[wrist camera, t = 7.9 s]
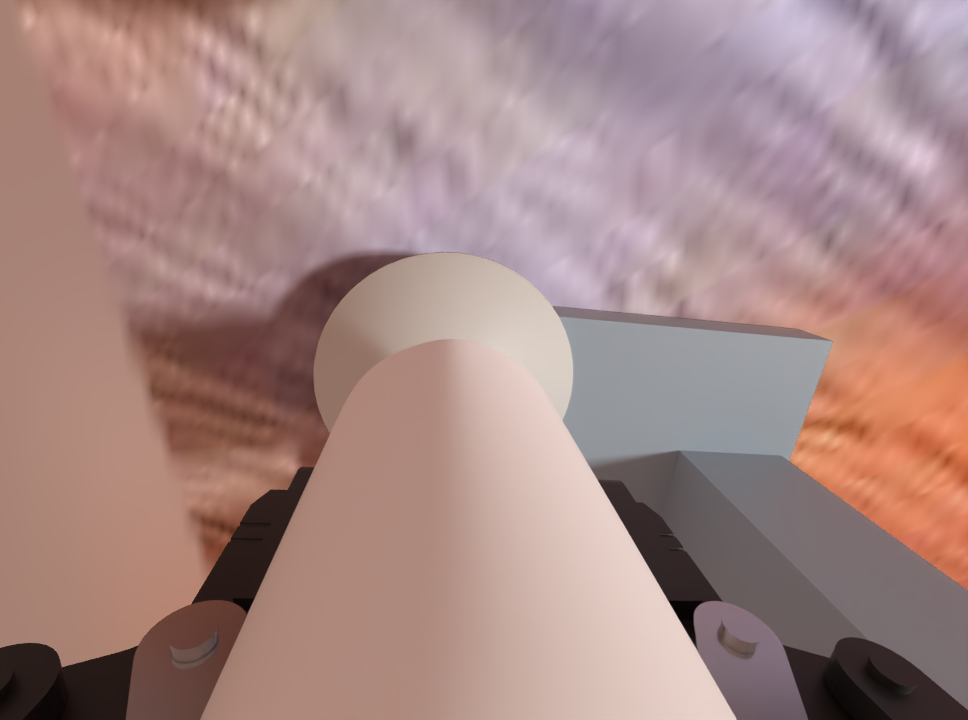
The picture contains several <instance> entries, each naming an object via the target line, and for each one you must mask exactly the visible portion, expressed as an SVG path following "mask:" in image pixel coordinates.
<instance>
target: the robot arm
mask: <svg viewBox="0 0 968 720" xmlns="http://www.w3.org/2000/svg"><path fill="white" fill-rule="evenodd" d="M313 470H314V467H300V468H299V469H298V471H297V473H296V475H295V477H294V479H293V481H292V483H291V485H290V487H289V489H288V490H270V491H268V492H267V493H266V494H264V495H263V496H262V497H261V498H259V499H258V500H257V501H255V502H254V503H253V504H251V506H250V508H249V509H248V511H247V513H246V514H245V516H244V517H243V519H242V521H241V522H240V526H238V527H237V529H236V531H235V532H234V534H233V536H232V537H231V541H230V542H228V544H227V546H226V547H225V549H224V551H223V552H222V554H221V556H220V557H219V559H218V561H217V562H216V564H215V566H214V567H213V569H212V571H211V572H210V574H209V576H208V577H207V579H206V580H205V582H204V584H203V585H202V587H201V589H200V590H199V592H198V594H197V596H196V597H195V599H194V600H193V602H192V604H191V605H188V606H186V607H184V608H181V609H179V610H177V611H175V612H173V613H171V614H170V615H168V616H166V617H165V618H164V619H162V620H161V621H160V622H158V623H157V624H156V625H155V626H154V627H153V628H152V629H151V630H150V631H149V632H148V633H147V634H146V635H145V636H144V638H143V639H142V641H141V642H140V644H139V645H138V646H136V647H133V648H131V649H128V650H125V651H122V652H118V653H115V654H111V655H107V656H103V657H100V658H96V659H92V660H88V661H85V662H81V663H76V664H73V665H69V666H66V667H62V666H61V662H60V659H59V656H58V654H57V652H56V651H55V650H54V649H53V648H51V647H49V646H47V645H43V644H38V643H23V644H16V645H11V646H6V647H2V648H0V720H200V719H201V717H202V715H203V712H204V710H205V708H206V706H207V703H208V701H209V699H210V697H211V694H212V692H213V690H214V688H215V686H216V683H217V681H218V679H219V677H220V675H221V672H222V670H223V668H224V666H225V663H226V661H227V659H228V657H229V655H230V652H231V650H232V648H233V646H234V644H235V641H236V639H237V637H238V635H239V633H240V630H241V628H242V626H243V624H244V621H245V619H246V617H247V614H248V612H249V610H250V607H251V605H252V603H253V601H254V599H255V597H256V594H257V592H258V590H259V588H260V586H261V583H262V581H263V579H264V577H265V575H266V572H267V570H268V568H269V566H270V564H271V561H272V559H273V557H274V555H275V553H276V551H277V548H278V546H279V544H280V542H281V540H282V537H283V535H284V533H285V531H286V529H287V526H288V524H289V522H290V520H291V518H292V515H293V513H294V511H295V509H296V507H297V505H298V502H299V500H300V498H301V496H302V494H303V492H304V489H305V487H306V485H307V483H308V481H309V478H310V476H311V474H312V472H313ZM597 480H598V482H599V483H600V485H601V487H602V489H603V490H604V492H605V494H606V495H607V497H608V499H609V501H610V502H611V504H612V506H613V507H614V509H615V511H616V512H617V514H618V516H619V518H620V519H621V521H622V523H623V524H624V526H625V528H626V530H627V531H628V533H629V535H630V536H631V538H632V540H633V541H634V543H635V545H636V547H637V548H638V550H639V552H640V553H641V555H642V557H643V559H644V560H645V562H646V564H647V565H648V567H649V569H650V571H651V572H652V574H653V576H654V577H655V579H656V581H657V583H658V584H659V586H660V588H661V589H662V591H663V593H664V595H665V596H666V598H667V600H668V601H669V603H670V605H671V607H672V608H673V610H674V612H675V613H676V615H677V617H678V619H679V620H680V622H681V624H682V625H683V627H684V629H685V631H686V632H687V634H688V636H689V637H690V639H691V641H692V643H693V644H694V646H695V648H696V649H697V651H698V653H699V655H700V656H701V658H702V660H703V662H704V663H705V665H706V667H707V669H708V670H709V672H710V674H711V676H712V677H713V679H714V681H715V682H716V684H717V686H718V688H719V689H720V691H721V693H722V695H723V696H724V698H725V700H726V702H727V703H728V705H729V707H730V709H731V710H732V712H733V714H734V715H735V717H736V719H737V720H968V710H967V709H966V708H965V707H964V706H962V705H961V704H960V703H959V702H958V701H957V700H955V699H954V698H953V697H952V696H951V695H949V694H948V693H947V692H946V691H945V690H943V689H942V688H941V687H940V686H939V685H937V684H936V683H935V682H934V681H933V680H931V679H930V678H929V677H928V676H927V675H926V674H924V673H923V672H922V671H921V670H920V669H918V668H917V667H916V666H915V665H913V664H912V663H911V662H909V661H908V660H906V659H905V658H903V657H902V656H900V655H899V654H897V653H895V652H894V651H892V650H890V649H888V648H886V647H884V646H882V645H880V644H877V643H875V642H872V641H869V640H866V639H862V638H855V637H847V638H843V639H840V640H839V641H838V642H837V644H836V646H835V648H834V650H833V652H832V654H831V656H830V658H828V657H825V656H821V655H818V654H814V653H810V652H807V651H803V650H799V649H796V648H792V647H789V646H785V645H782V643H781V642H780V640H779V638H778V637H777V636H776V635H775V633H774V632H773V631H772V630H771V629H770V628H769V627H768V626H767V625H766V624H765V623H764V622H763V621H761V620H760V619H759V618H757V617H756V616H754V615H753V614H751V613H750V612H748V611H746V610H744V609H742V608H740V607H738V606H735V605H733V604H730V603H726V602H723V601H722V600H721V598H720V597H719V596H718V594H717V593H716V591H715V590H714V589H713V587H712V586H711V584H710V583H709V582H708V580H707V579H706V578H705V576H704V575H703V573H702V572H701V571H700V569H699V568H698V567H697V565H696V564H695V562H694V561H693V560H692V558H691V557H690V556H689V554H688V553H687V551H684V547H683V546H682V545H681V543H680V542H679V540H678V539H677V538H676V537H674V535H673V534H674V533H673V532H672V531H671V529H670V528H669V527H668V525H667V524H666V522H665V521H664V520H663V518H662V517H661V516H660V515H658V514H657V513H656V512H655V511H653V510H652V509H651V508H649V507H648V506H647V505H646V504H644V503H643V502H636V501H635V500H634V498H633V497H632V495H631V494H630V492H629V491H628V489H627V488H626V486H625V485H624V483H623V482H622V481H620V480H603V479H597Z"/></svg>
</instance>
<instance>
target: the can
mask: <svg viewBox="0 0 968 720" xmlns="http://www.w3.org/2000/svg"><path fill="white" fill-rule="evenodd" d="M200 720H737V719H736V717H735V715H734V714H733V712H732V710H731V709H730V707H729V705H728V703H727V702H726V700H725V698H724V696H723V695H722V693H721V691H720V689H719V688H718V686H717V684H716V682H715V681H714V679H713V677H712V676H711V674H710V672H709V670H708V669H707V667H706V665H705V663H704V662H703V660H702V658H701V656H700V655H699V653H698V651H697V649H696V648H695V646H694V644H693V643H692V641H691V639H690V637H689V636H688V634H687V632H686V631H685V629H684V627H683V625H682V624H681V622H680V620H679V619H678V617H677V615H676V613H675V612H674V610H673V608H672V607H671V605H670V603H669V601H668V600H667V598H666V596H665V595H664V593H663V591H662V589H661V588H660V586H659V584H658V583H657V581H656V579H655V577H654V576H653V574H652V572H651V571H650V569H649V567H648V565H647V564H646V562H645V560H644V559H643V557H642V555H641V553H640V552H639V550H638V548H637V547H636V545H635V543H634V541H633V540H632V538H631V536H630V535H629V533H628V531H627V530H626V528H625V526H624V524H623V523H622V521H621V519H620V518H619V516H618V514H617V512H616V511H615V509H614V507H613V506H612V504H611V502H610V501H609V499H608V497H607V495H606V494H605V492H604V490H603V489H602V487H601V485H600V483H599V482H598V480H597V478H596V477H595V475H594V473H593V472H592V470H591V468H590V467H589V465H588V463H587V461H586V460H585V458H584V456H583V455H582V453H581V451H580V450H579V448H578V446H577V445H576V443H575V441H574V439H573V438H572V436H571V434H570V433H569V431H568V429H567V428H566V426H565V424H564V423H563V421H562V419H561V418H560V416H559V414H558V413H557V411H556V409H555V408H554V406H553V404H552V403H551V401H550V400H549V398H548V396H547V395H546V393H545V392H544V390H543V389H542V387H541V386H540V384H539V383H538V382H537V380H536V379H535V378H534V377H533V376H532V374H531V373H530V372H529V371H528V370H527V369H526V368H524V367H523V366H522V365H521V364H520V363H518V362H517V361H516V360H514V359H513V358H511V357H510V356H508V355H506V354H505V353H503V352H501V351H499V350H496V349H494V348H491V347H489V346H486V345H483V344H479V343H475V342H471V341H466V340H459V339H443V340H435V341H429V342H425V343H421V344H418V345H415V346H412V347H409V348H406V349H404V350H401V351H399V352H397V353H395V354H393V355H391V356H389V357H387V358H385V359H384V360H382V361H381V362H379V363H378V364H376V365H375V366H374V367H373V368H371V369H370V370H369V371H368V372H367V373H366V374H365V375H364V376H363V377H362V378H361V380H360V381H359V382H358V383H357V385H356V386H355V387H354V389H353V390H352V392H351V393H350V395H349V397H348V398H347V400H346V402H345V404H344V406H343V408H342V410H341V412H340V414H339V416H338V418H337V420H336V422H335V424H334V427H333V429H332V431H331V433H330V435H329V437H328V439H327V442H326V444H325V446H324V448H323V450H322V452H321V455H320V457H319V459H318V461H317V463H316V465H315V468H314V470H313V472H312V474H311V476H310V478H309V481H308V483H307V485H306V487H305V489H304V492H303V494H302V496H301V498H300V500H299V502H298V505H297V507H296V509H295V511H294V513H293V515H292V518H291V520H290V522H289V524H288V526H287V529H286V531H285V533H284V535H283V537H282V540H281V542H280V544H279V546H278V548H277V551H276V553H275V555H274V557H273V559H272V561H271V564H270V566H269V568H268V570H267V572H266V575H265V577H264V579H263V581H262V583H261V586H260V588H259V590H258V592H257V594H256V597H255V599H254V601H253V603H252V605H251V607H250V610H249V612H248V614H247V617H246V619H245V621H244V624H243V626H242V628H241V630H240V633H239V635H238V637H237V639H236V641H235V644H234V646H233V648H232V650H231V652H230V655H229V657H228V659H227V661H226V663H225V666H224V668H223V670H222V672H221V675H220V677H219V679H218V681H217V683H216V686H215V688H214V690H213V692H212V694H211V697H210V699H209V701H208V703H207V706H206V708H205V710H204V712H203V715H202V717H201V719H200Z"/></svg>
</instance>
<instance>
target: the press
mask: <svg viewBox="0 0 968 720" xmlns="http://www.w3.org/2000/svg"><path fill="white" fill-rule="evenodd" d="M443 339H459V340H466V341H471V342H475V343H479V344H483V345H486V346H489V347H491V348H494V349H496V350H499V351H501V352H503V353H505V354H506V355H508V356H510V357H511V358H513V359H514V360H516V361H517V362H518V363H520V364H521V365H522V366H523V367H524V368H526V369H527V370H528V371H529V372H530V373H531V374H532V376H533V377H534V378H535V379H536V380H537V382H538V383H539V384H540V386H541V387H542V389H543V390H544V392H545V393H546V395H547V396H548V398H549V400H550V401H551V403H552V404H553V406H554V408H555V409H556V411H557V413H558V414H559V416H560V418H561V419H562V421H563V423H564V424H565V426H566V428H567V429H568V431H569V433H570V434H571V436H572V438H573V439H574V441H575V443H576V445H577V446H578V448H579V450H580V451H581V453H582V455H583V456H584V458H585V460H586V461H587V463H588V465H589V467H590V468H591V470H592V472H593V473H594V475H595V477H596V478H597V479H603V480H620V481H622V482H623V483H624V485H625V486H626V488H627V489H628V491H629V492H630V494H631V495H632V497H633V498H634V500H635V501H636V502H643V503H644V504H646V505H647V506H648V507H649V508H651V509H652V510H653V511H655V512H656V513H657V514H658V515H660V516H661V517H662V518H663V520H664V521H665V522H666V524H667V525H668V527H669V528H670V529H671V531H672V532H673V533H674V534H673V535H674V537H676V538H677V539H678V540H679V542H680V543H681V545H682V546H683V547H684V551H687V553H688V554H689V556H690V557H691V558H692V560H693V561H694V562H695V564H696V565H697V567H698V568H699V569H700V571H701V572H702V573H703V575H704V576H705V578H706V579H707V580H708V582H709V583H710V584H711V586H712V587H713V589H714V590H715V591H716V593H717V594H718V596H719V597H720V598H721V600H722V601H723V602H726V603H730V604H733V605H735V606H738V607H740V608H742V609H744V610H746V611H748V612H750V613H751V614H753V615H754V616H756V617H757V618H759V619H760V620H761V621H763V622H764V623H765V624H766V625H767V626H768V627H769V628H770V629H771V630H772V631H773V632H774V633H775V635H776V636H777V637H778V638H779V640H780V642H781V643H782V645H785V646H789V647H792V648H796V649H799V650H803V651H807V652H810V653H814V654H818V655H821V656H825V657H828V658H830V656H831V654H832V652H833V650H834V648H835V646H836V644H837V642H838V641H839V640H840V639H843V638H847V637H855V638H862V639H866V640H869V641H872V642H875V643H877V644H880V645H882V646H884V647H886V648H888V649H890V650H892V651H894V652H895V653H897V654H899V655H900V656H902V657H903V658H905V659H906V660H908V661H909V662H911V663H912V664H913V665H915V666H916V667H917V668H918V669H920V670H921V671H922V672H923V673H924V674H926V675H927V676H928V677H929V678H930V679H931V680H933V681H934V682H935V683H936V684H937V685H939V686H940V687H941V688H942V689H943V690H945V691H946V692H947V693H948V694H949V695H951V696H952V697H953V698H954V699H955V700H957V701H958V702H959V703H960V704H961V705H962V706H964V707H965V708H966V709H967V710H968V591H967V590H966V589H965V588H963V587H962V586H961V585H959V584H958V583H956V582H955V581H954V580H952V579H951V578H950V577H948V576H947V575H945V574H944V573H943V572H941V571H940V570H939V569H937V568H936V567H934V566H933V565H932V564H930V563H929V562H927V561H926V560H925V559H923V558H922V557H921V556H919V555H918V554H916V553H915V552H914V551H912V550H911V549H910V548H908V547H907V546H905V545H904V544H903V543H901V542H900V541H899V540H897V539H896V538H894V537H893V536H892V535H890V534H889V533H887V532H886V531H885V530H883V529H882V528H881V527H879V526H878V525H876V524H875V523H874V522H872V521H871V520H870V519H868V518H867V517H865V516H864V515H863V514H861V513H860V512H859V511H857V510H856V509H854V508H853V507H852V506H850V505H849V504H847V503H846V502H845V501H843V500H842V499H841V498H839V497H838V496H836V495H835V494H834V493H832V492H831V491H830V490H828V489H827V488H825V487H824V486H823V485H821V484H820V483H819V482H817V481H816V480H814V479H813V478H812V477H810V476H809V475H807V474H806V473H805V472H803V471H802V470H801V469H799V468H798V467H796V466H795V465H794V464H792V463H791V462H790V461H789V460H790V458H791V455H792V452H793V449H794V447H795V444H796V441H797V439H798V436H799V433H800V430H801V428H802V425H803V422H804V420H805V417H806V414H807V411H808V409H809V406H810V403H811V401H812V398H813V395H814V392H815V390H816V387H817V384H818V381H819V379H820V376H821V373H822V371H823V368H824V365H825V362H826V360H827V357H828V354H829V352H830V349H831V346H832V343H833V341H831V340H828V339H825V338H823V337H820V336H817V335H814V334H811V333H808V332H805V331H802V330H799V329H793V328H783V327H772V326H761V325H750V324H739V323H729V322H718V321H707V320H696V319H686V318H675V317H664V316H653V315H642V314H632V313H621V312H610V311H599V310H588V309H578V308H567V307H556V306H552V305H551V304H550V303H549V301H548V300H547V299H546V298H545V297H544V296H543V295H542V293H541V292H540V291H539V290H538V289H537V288H535V287H534V286H533V285H532V284H531V283H530V282H529V281H527V280H526V279H525V278H524V277H522V276H520V275H519V274H517V273H516V272H514V271H513V270H511V269H510V268H507V267H505V266H503V265H501V264H499V263H497V262H495V261H492V260H489V259H486V258H482V257H479V256H475V255H470V254H464V253H454V252H436V253H425V254H420V255H415V256H411V257H407V258H403V259H401V260H398V261H395V262H393V263H390V264H388V265H386V266H384V267H382V268H380V269H378V270H377V271H375V272H373V273H371V274H370V275H369V276H367V277H366V278H365V279H363V280H362V281H361V282H359V283H358V284H357V285H356V286H355V287H354V288H352V289H351V290H350V291H349V292H348V293H347V294H346V296H345V297H344V298H343V299H342V300H341V301H340V303H339V304H338V305H337V307H336V308H335V309H334V311H333V312H332V314H331V316H330V317H329V319H328V321H327V323H326V325H325V326H324V329H323V331H322V334H321V337H320V339H319V342H318V346H317V350H316V355H315V359H314V373H313V378H314V391H315V396H316V401H317V405H318V409H319V411H320V414H321V417H322V419H323V422H324V424H325V426H326V428H327V429H328V431H329V433H331V431H332V429H333V427H334V424H335V422H336V420H337V418H338V416H339V414H340V412H341V410H342V408H343V406H344V404H345V402H346V400H347V398H348V397H349V395H350V393H351V392H352V390H353V389H354V387H355V386H356V385H357V383H358V382H359V381H360V380H361V378H362V377H363V376H364V375H365V374H366V373H367V372H368V371H369V370H370V369H371V368H373V367H374V366H375V365H376V364H378V363H379V362H381V361H382V360H384V359H385V358H387V357H389V356H391V355H393V354H395V353H397V352H399V351H401V350H404V349H406V348H409V347H412V346H415V345H418V344H421V343H425V342H429V341H435V340H443Z"/></svg>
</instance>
